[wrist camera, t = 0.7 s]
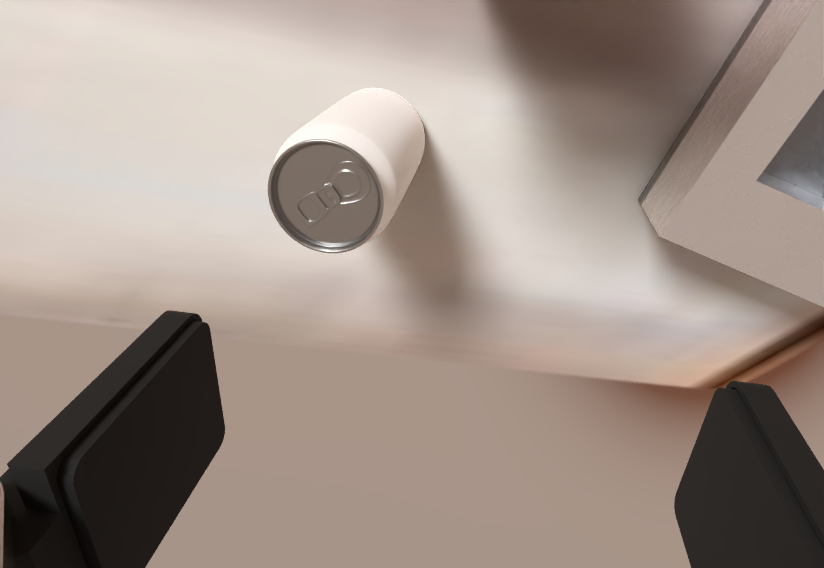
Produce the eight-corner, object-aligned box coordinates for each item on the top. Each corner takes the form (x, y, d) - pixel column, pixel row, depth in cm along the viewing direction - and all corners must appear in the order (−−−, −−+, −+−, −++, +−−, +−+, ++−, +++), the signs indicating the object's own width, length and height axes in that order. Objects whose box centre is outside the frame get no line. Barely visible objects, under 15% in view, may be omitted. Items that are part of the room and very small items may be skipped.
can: (445, 152, 37) (419, 220, 26) (367, 202, 39) (315, 282, 29) (387, 64, 35) (335, 100, 24) (309, 123, 37) (231, 178, 27)
